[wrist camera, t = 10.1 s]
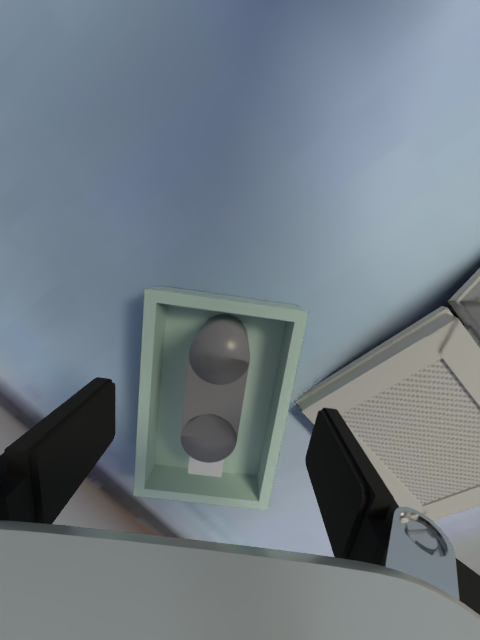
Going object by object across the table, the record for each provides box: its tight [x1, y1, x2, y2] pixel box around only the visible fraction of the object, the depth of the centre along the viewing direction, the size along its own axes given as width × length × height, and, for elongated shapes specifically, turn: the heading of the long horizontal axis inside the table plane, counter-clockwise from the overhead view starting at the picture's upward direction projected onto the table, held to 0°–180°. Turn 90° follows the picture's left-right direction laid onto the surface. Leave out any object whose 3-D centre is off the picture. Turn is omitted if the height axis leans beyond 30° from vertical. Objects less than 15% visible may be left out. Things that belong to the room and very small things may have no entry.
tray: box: [133, 286, 309, 511], centre depth 15 cm, size 14×9×3 cm, turn 172°
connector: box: [181, 314, 250, 477], centre depth 14 cm, size 10×3×4 cm, turn 172°
